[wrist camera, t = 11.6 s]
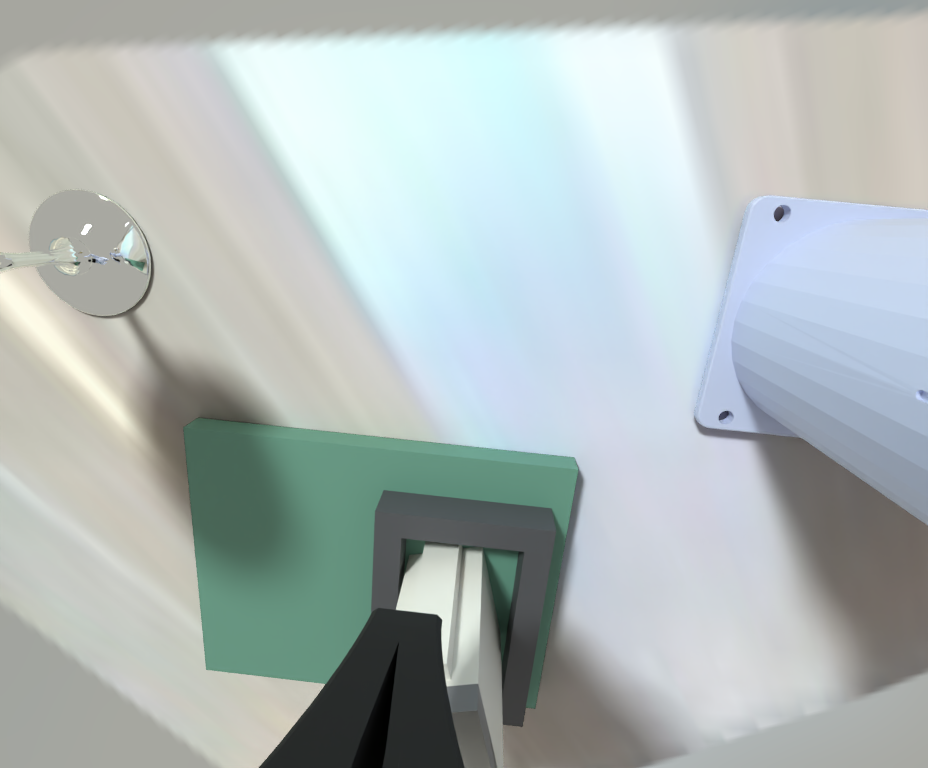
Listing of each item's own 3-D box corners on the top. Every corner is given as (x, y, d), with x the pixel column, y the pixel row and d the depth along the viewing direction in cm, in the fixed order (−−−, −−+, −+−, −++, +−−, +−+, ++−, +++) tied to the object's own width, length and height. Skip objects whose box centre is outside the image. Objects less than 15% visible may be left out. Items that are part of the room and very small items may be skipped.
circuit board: (574, 457, 19) (585, 490, 17) (533, 688, 23) (537, 742, 21) (198, 417, 20) (157, 444, 17) (218, 651, 24) (186, 699, 21)
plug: (500, 635, 21) (504, 825, 14) (431, 642, 21) (404, 832, 15) (479, 532, 20) (473, 693, 13) (406, 542, 20) (362, 703, 13)
